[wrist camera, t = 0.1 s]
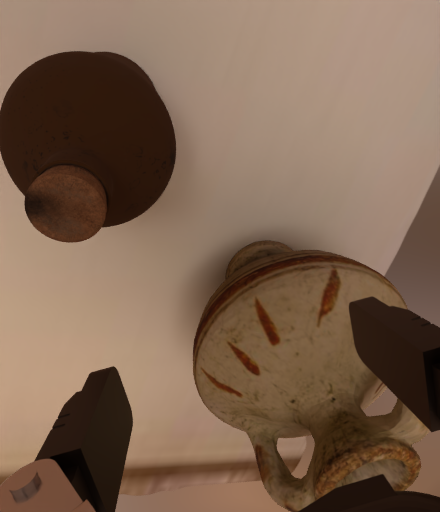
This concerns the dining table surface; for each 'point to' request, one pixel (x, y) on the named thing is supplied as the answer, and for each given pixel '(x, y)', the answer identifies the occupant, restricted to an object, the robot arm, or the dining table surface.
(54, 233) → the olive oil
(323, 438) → the amphora
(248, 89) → the dining table surface
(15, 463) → the dining table surface
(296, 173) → the dining table surface
